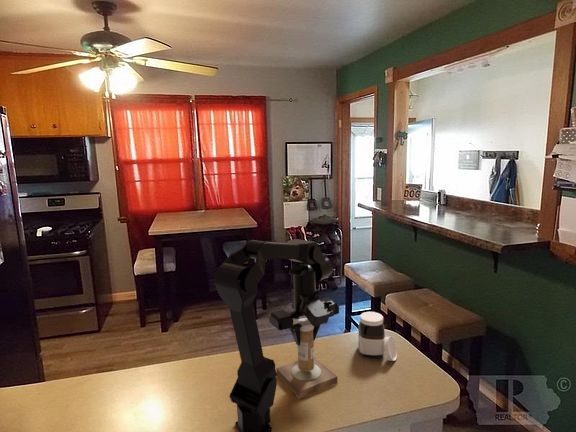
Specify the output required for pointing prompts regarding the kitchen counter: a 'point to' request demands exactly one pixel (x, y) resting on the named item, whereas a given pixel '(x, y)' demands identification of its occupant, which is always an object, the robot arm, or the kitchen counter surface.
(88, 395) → the kitchen counter surface
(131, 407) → the kitchen counter surface
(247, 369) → the robot arm
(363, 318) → the spread jar
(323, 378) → the walnut plinth
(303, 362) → the sprinkles bottle
